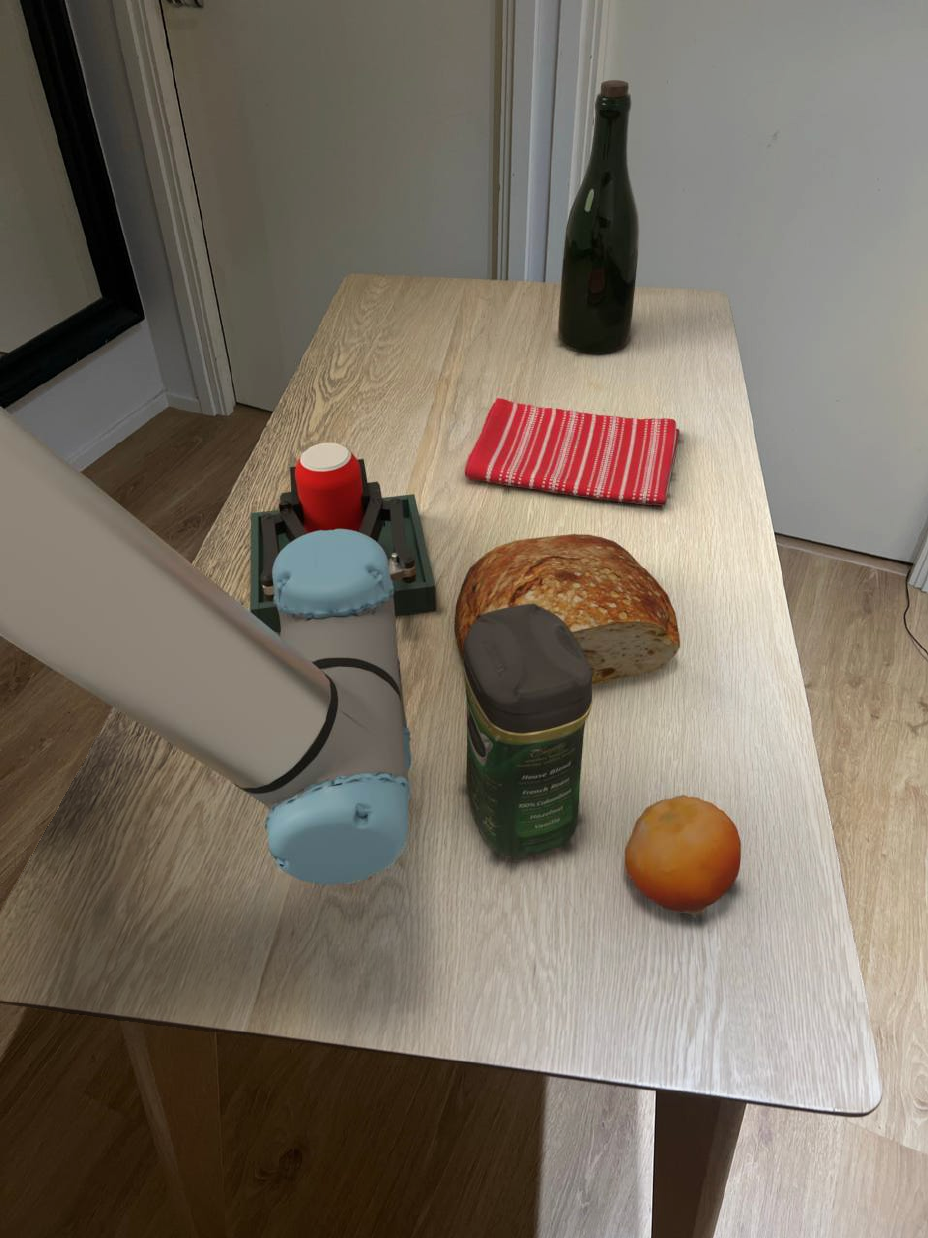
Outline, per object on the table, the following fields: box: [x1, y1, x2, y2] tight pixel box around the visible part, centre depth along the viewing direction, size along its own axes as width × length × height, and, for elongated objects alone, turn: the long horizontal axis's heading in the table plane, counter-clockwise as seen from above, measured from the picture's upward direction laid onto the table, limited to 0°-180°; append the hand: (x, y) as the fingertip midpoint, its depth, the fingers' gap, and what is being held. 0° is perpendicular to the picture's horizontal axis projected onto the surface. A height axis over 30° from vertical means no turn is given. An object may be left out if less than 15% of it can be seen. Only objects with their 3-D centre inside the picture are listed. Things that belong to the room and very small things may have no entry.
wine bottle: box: [557, 79, 640, 354], centre depth 119 cm, size 10×10×33 cm
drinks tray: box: [249, 493, 437, 633], centre depth 91 cm, size 18×16×3 cm
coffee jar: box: [462, 603, 593, 859], centre depth 64 cm, size 10×8×19 cm
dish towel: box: [464, 397, 680, 506], centre depth 106 cm, size 17×24×3 cm
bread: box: [453, 533, 681, 685], centre depth 82 cm, size 20×18×10 cm
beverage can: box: [295, 442, 364, 533], centre depth 87 cm, size 6×6×12 cm
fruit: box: [624, 794, 742, 919], centre depth 64 cm, size 8×8×8 cm
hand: (328, 474), depth 90 cm, fingers closed on beverage can, 6 cm apart
